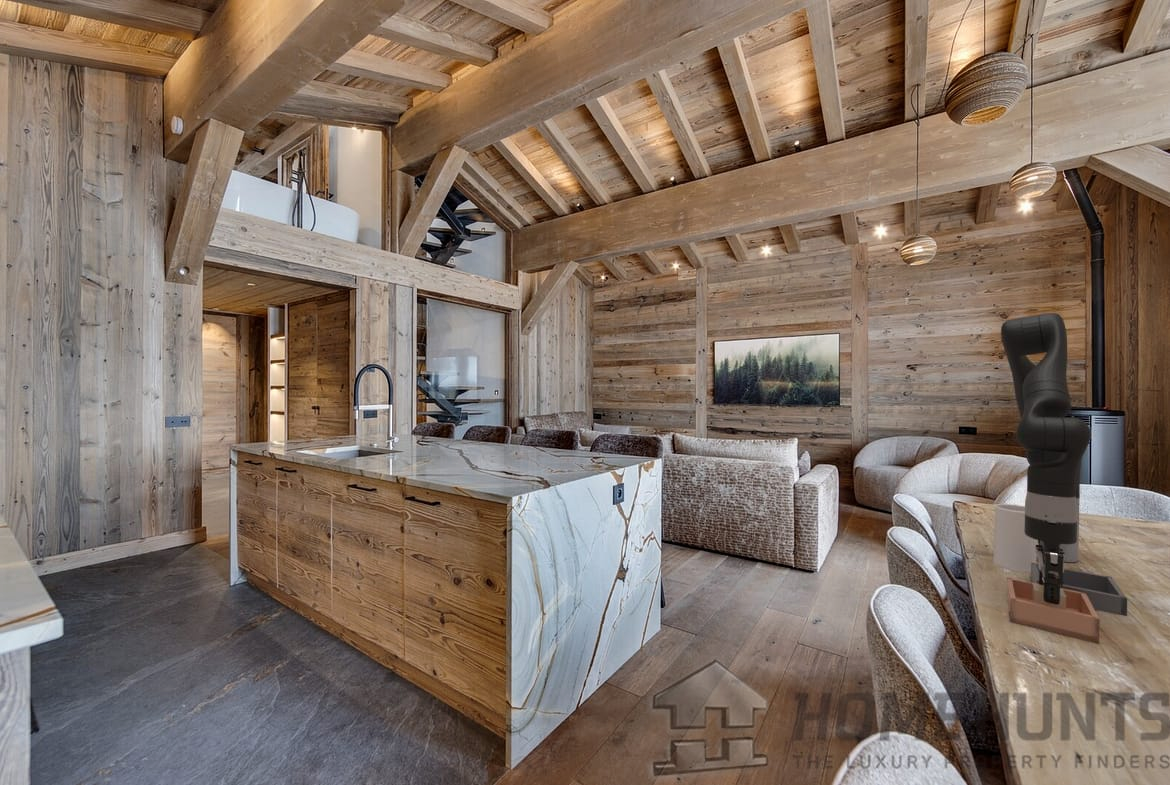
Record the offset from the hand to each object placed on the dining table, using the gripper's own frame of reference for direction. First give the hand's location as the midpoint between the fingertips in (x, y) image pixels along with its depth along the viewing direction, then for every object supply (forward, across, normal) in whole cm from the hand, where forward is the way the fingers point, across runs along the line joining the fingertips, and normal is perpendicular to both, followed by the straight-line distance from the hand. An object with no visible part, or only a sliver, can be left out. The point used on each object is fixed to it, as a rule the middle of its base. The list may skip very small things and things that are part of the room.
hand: (1048, 595), depth 94 cm
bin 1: (+5, 0, 0) cm, 5 cm away
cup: (+5, -30, -4) cm, 31 cm away
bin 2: (+5, -16, +6) cm, 18 cm away
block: (+4, 0, 0) cm, 4 cm away
